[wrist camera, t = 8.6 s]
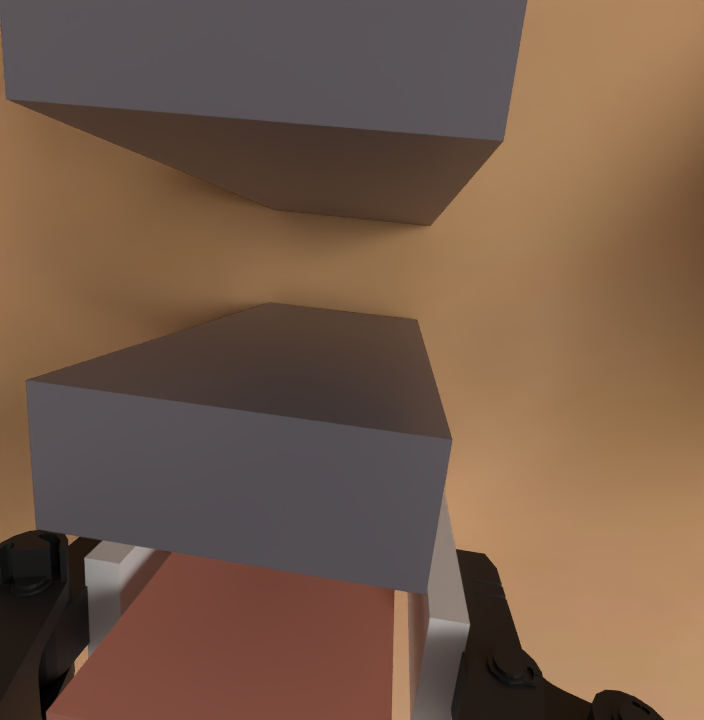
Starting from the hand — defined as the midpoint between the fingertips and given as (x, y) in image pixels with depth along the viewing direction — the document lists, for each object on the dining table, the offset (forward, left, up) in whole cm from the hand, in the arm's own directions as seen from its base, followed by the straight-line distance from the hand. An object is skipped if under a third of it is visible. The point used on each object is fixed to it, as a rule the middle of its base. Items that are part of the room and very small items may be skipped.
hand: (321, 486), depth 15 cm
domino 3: (0, 0, -1) cm, 1 cm away
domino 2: (-5, 0, -1) cm, 5 cm away
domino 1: (-10, 0, -1) cm, 10 cm away
